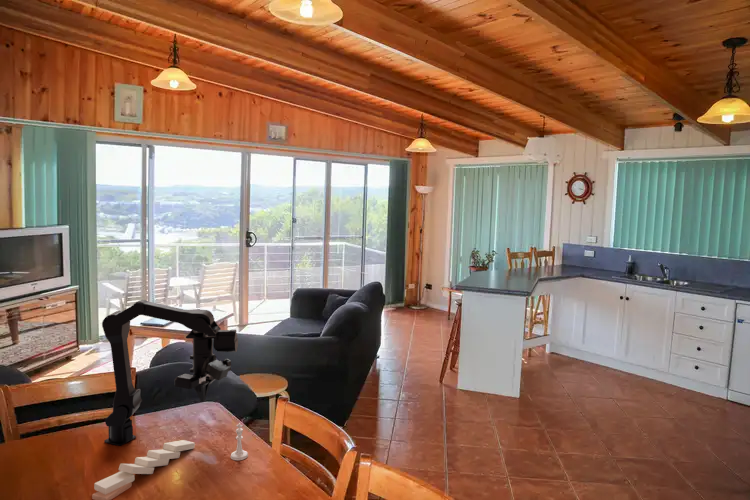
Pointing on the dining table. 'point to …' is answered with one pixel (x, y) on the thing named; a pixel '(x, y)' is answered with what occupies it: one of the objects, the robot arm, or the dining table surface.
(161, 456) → the domino
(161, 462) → the domino
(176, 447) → the domino
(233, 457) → the chess piece
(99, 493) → the domino
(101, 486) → the domino
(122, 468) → the domino
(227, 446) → the dining table surface
